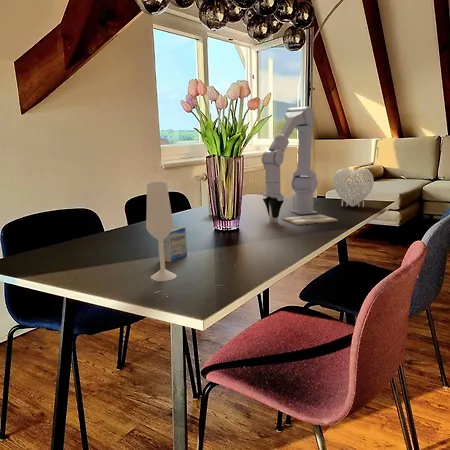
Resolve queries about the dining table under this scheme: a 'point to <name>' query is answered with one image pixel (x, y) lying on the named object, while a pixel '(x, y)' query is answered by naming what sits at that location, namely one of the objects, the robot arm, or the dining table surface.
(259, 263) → the dining table surface
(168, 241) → the medicine box
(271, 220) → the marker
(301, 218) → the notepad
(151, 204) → the champagne flute
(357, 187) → the decorative heart
